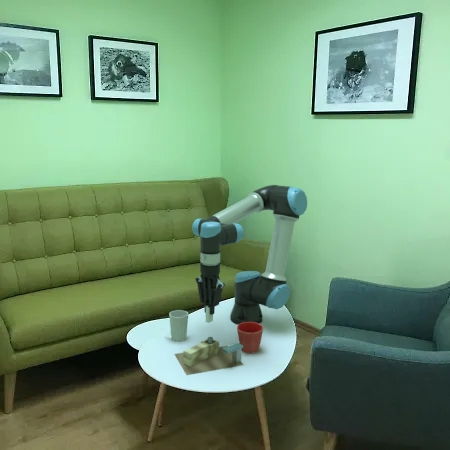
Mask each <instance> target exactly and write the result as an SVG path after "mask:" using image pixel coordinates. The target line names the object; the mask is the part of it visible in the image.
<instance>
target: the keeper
mask: <svg viewBox="0 0 450 450" xmlns="http://www.w3.org/2000/svg"><path fill="white" fill-rule="evenodd" d="M226 346H227V347H225V348H222V351H223V352H225V353H227V354H229V353H231V352H232V361H233V362H234V363H236V364H237V363H239V362H242V351H241V348H243V345H241V344H239V342H235V343H232V344H230V345H226Z"/></svg>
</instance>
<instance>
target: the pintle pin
mask: <svg viewBox="0 0 450 450" xmlns="http://www.w3.org/2000/svg"><path fill="white" fill-rule="evenodd" d="M207 339H208V344H212V343H213V339H214V338H213V336H208V337H207Z"/></svg>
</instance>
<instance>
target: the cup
mask: <svg viewBox="0 0 450 450" xmlns="http://www.w3.org/2000/svg"><path fill="white" fill-rule="evenodd" d="M168 315H169V324H170V325H169V326H170V338H171V340H172V341H174V342H178V343H180V342H184V341H186V340H187V333H188V324H189V323H188V321H189V312H188V311H186V310H183V309H182V310H181V309H176V310H172V311H170V312H169V313H168Z"/></svg>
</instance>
